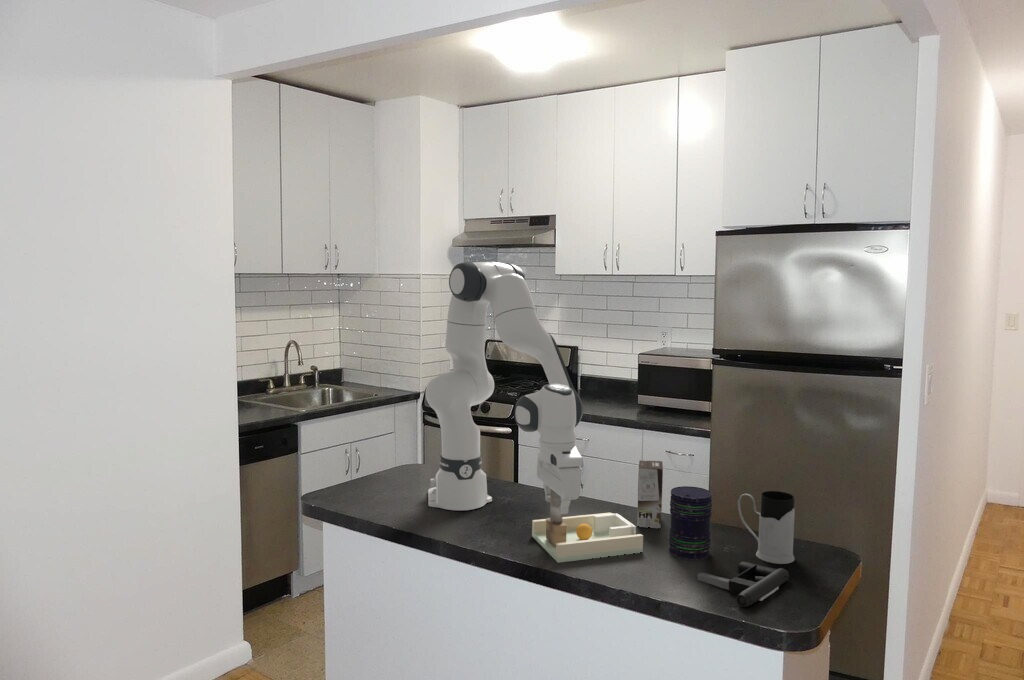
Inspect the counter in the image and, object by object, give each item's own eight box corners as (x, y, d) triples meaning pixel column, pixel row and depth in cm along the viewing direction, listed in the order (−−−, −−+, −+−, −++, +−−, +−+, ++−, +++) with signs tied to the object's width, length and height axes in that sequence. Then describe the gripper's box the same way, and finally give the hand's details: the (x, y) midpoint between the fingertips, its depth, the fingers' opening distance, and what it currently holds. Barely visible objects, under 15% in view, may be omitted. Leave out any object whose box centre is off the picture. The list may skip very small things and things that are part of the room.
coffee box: (661, 529, 198) (663, 469, 196) (636, 527, 199) (638, 467, 198) (661, 517, 207) (663, 460, 205) (637, 516, 208) (639, 459, 207)
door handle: (683, 578, 161) (753, 597, 150) (728, 553, 176) (795, 569, 165) (683, 593, 162) (753, 613, 150) (728, 567, 176) (796, 584, 165)
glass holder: (785, 566, 173) (788, 503, 172) (728, 550, 183) (730, 490, 182) (800, 556, 180) (803, 495, 178) (744, 541, 189) (746, 483, 188)
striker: (545, 538, 186) (546, 486, 185) (557, 536, 187) (558, 485, 186) (554, 546, 181) (555, 493, 179) (566, 545, 181) (567, 492, 180)
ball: (573, 537, 187) (573, 522, 187) (588, 536, 189) (588, 520, 188) (579, 543, 184) (580, 527, 183) (594, 541, 185) (595, 525, 185)
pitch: (532, 536, 192) (532, 516, 191) (610, 527, 198) (610, 508, 198) (557, 562, 175) (558, 541, 174) (642, 552, 181) (643, 531, 181)
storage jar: (676, 542, 189) (678, 483, 187) (715, 549, 184) (717, 490, 182) (662, 554, 180) (664, 494, 179) (703, 563, 175) (705, 500, 174)
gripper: (530, 442, 191) (530, 495, 192) (560, 462, 171) (559, 521, 173) (554, 441, 193) (553, 493, 194) (586, 460, 173) (584, 519, 174)
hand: (556, 507), depth 183 cm, fingers open, 8 cm apart
